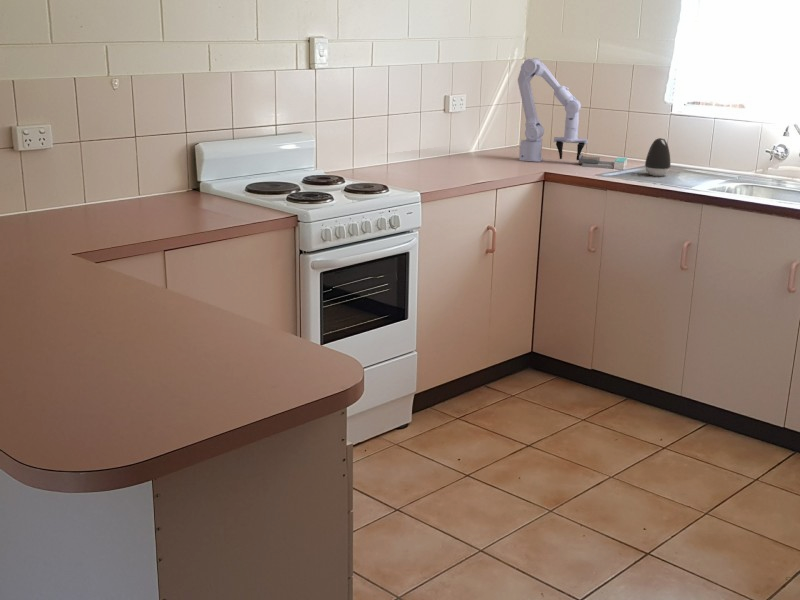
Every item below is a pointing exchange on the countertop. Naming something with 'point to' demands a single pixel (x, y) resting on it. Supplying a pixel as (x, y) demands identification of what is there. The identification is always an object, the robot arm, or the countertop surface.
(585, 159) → the trolley
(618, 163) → the dock
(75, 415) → the countertop surface
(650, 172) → the dark egg-shaped dome
